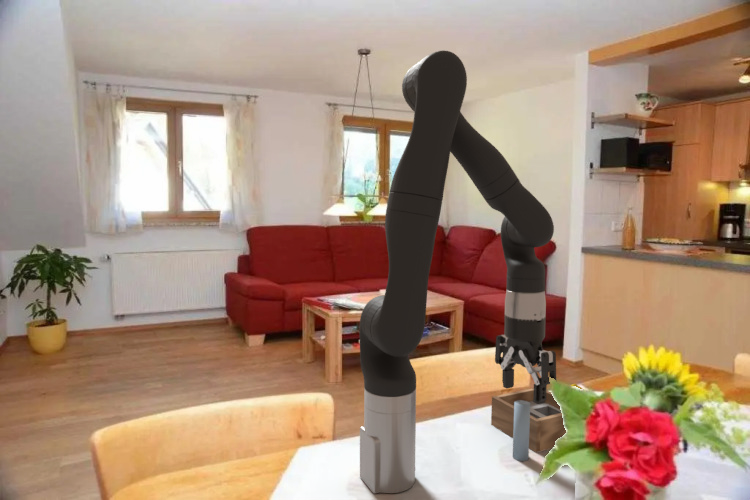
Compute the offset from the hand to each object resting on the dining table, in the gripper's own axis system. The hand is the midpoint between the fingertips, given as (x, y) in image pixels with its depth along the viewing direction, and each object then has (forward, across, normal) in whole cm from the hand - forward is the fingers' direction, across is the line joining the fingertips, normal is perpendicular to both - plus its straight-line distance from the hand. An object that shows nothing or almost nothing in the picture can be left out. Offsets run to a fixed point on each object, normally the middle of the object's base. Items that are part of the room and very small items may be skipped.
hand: (523, 394), depth 97 cm
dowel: (+13, 0, 0) cm, 13 cm away
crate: (+13, -7, +11) cm, 18 cm away
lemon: (+13, -9, +24) cm, 28 cm away
